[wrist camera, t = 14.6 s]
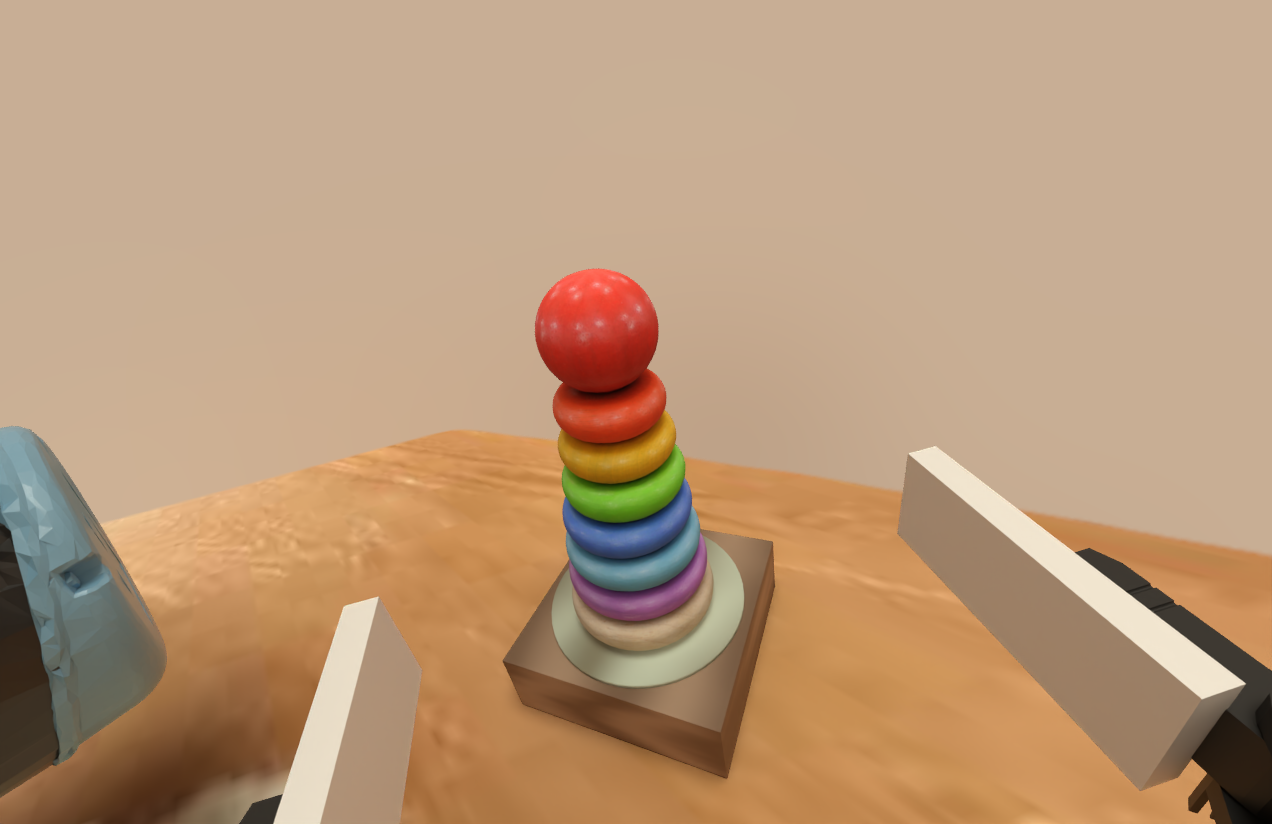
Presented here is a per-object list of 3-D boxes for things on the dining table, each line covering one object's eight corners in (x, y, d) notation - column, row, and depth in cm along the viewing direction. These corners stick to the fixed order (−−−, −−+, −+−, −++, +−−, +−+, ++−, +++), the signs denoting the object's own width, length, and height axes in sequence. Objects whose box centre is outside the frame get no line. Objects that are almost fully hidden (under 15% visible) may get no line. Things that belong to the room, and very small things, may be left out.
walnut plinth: (522, 703, 31) (501, 657, 28) (611, 552, 40) (599, 508, 38) (727, 778, 26) (720, 728, 24) (774, 586, 35) (772, 538, 33)
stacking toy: (578, 673, 27) (457, 327, 17) (575, 558, 34) (488, 265, 24) (731, 641, 27) (694, 282, 18) (697, 533, 34) (658, 233, 25)
